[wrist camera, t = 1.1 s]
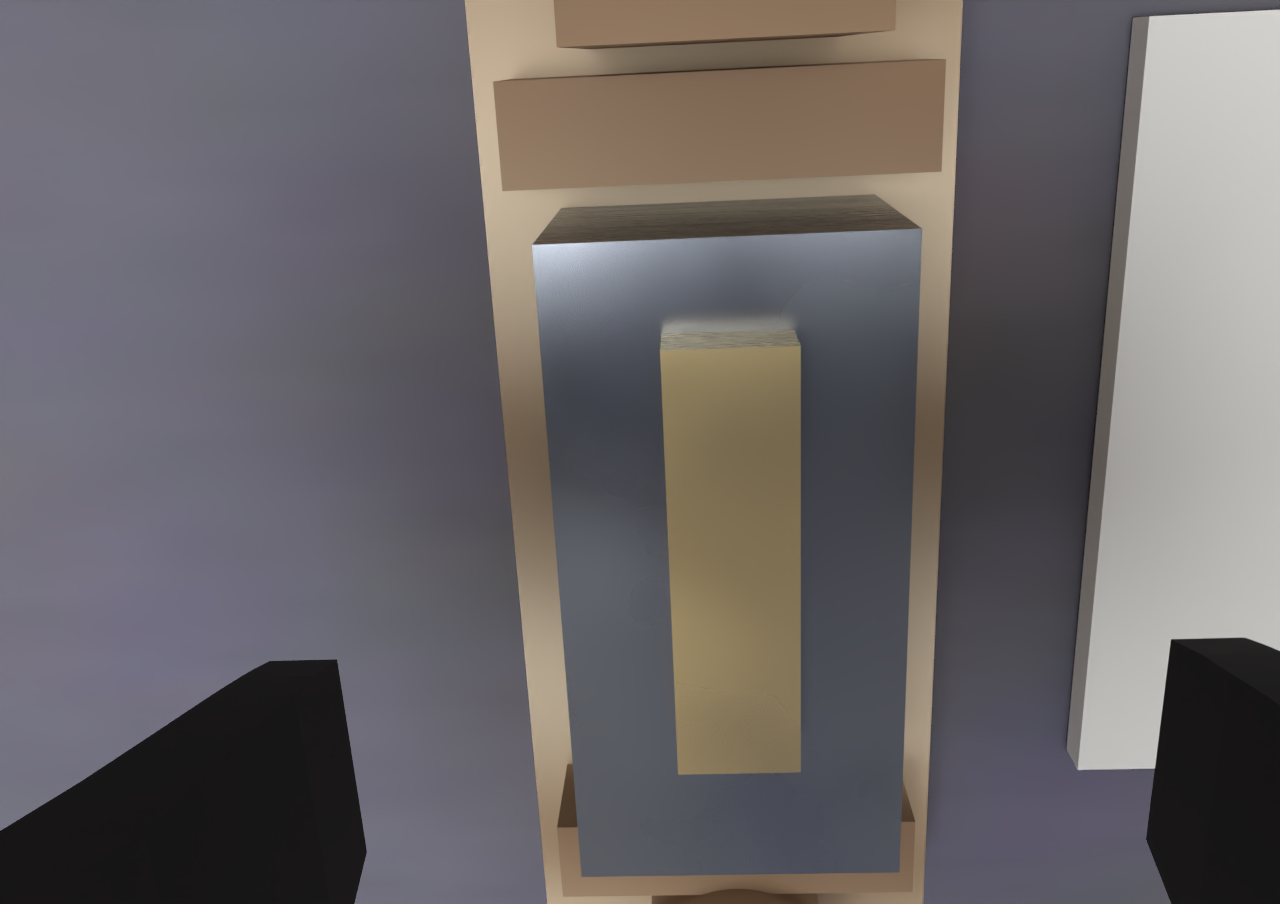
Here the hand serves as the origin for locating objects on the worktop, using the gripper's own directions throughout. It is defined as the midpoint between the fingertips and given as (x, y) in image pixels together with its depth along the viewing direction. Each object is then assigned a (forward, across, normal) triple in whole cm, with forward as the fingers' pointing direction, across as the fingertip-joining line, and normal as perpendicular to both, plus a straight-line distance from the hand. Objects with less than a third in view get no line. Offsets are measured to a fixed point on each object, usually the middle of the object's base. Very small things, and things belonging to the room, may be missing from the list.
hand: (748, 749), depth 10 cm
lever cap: (+6, 0, 0) cm, 6 cm away
